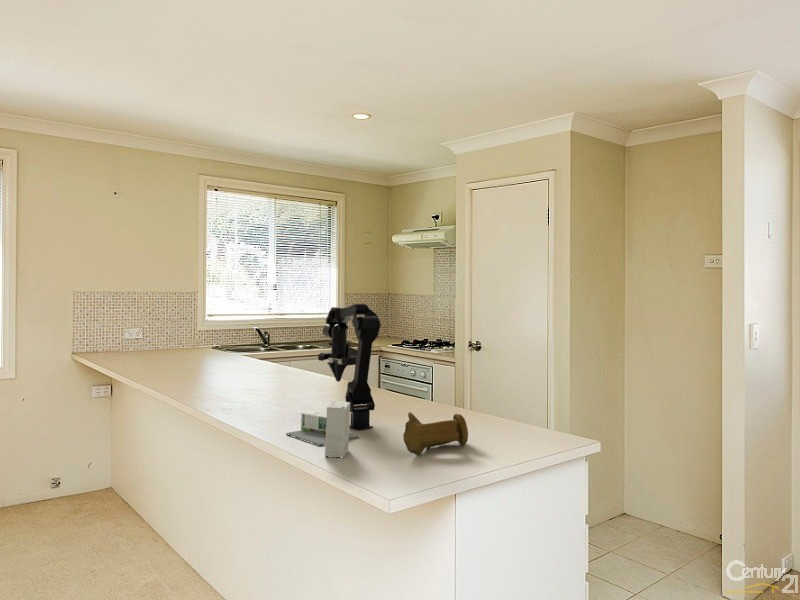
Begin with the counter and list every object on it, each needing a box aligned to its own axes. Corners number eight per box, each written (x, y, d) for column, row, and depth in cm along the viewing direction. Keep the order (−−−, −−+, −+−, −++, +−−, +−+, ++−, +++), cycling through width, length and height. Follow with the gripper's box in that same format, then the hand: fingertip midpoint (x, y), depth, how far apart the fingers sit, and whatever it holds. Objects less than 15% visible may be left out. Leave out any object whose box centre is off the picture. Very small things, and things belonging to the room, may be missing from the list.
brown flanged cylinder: (389, 417, 189) (454, 405, 193) (397, 458, 186) (463, 445, 190) (398, 412, 171) (469, 398, 176) (407, 457, 168) (479, 442, 172)
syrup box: (300, 412, 198) (335, 418, 190) (311, 409, 203) (346, 415, 196) (300, 429, 198) (334, 436, 191) (311, 426, 203) (345, 432, 196)
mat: (359, 437, 191) (359, 435, 191) (319, 446, 180) (319, 444, 180) (325, 427, 204) (325, 425, 204) (286, 434, 193) (286, 433, 193)
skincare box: (329, 449, 177) (330, 400, 176) (349, 450, 176) (350, 401, 176) (324, 458, 168) (325, 406, 168) (345, 458, 168) (346, 407, 168)
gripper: (371, 341, 222) (370, 382, 222) (340, 337, 235) (339, 376, 235) (348, 342, 214) (347, 385, 214) (317, 338, 227) (316, 379, 227)
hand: (338, 381), depth 223 cm, fingers closed
